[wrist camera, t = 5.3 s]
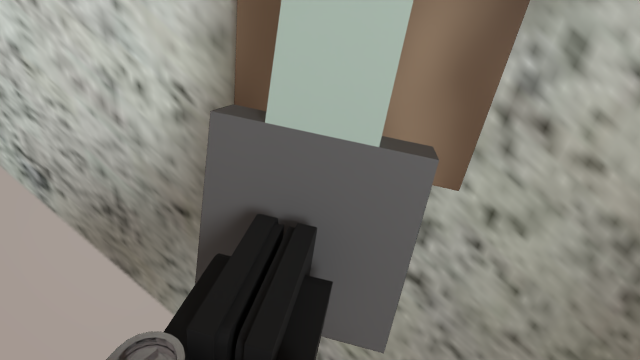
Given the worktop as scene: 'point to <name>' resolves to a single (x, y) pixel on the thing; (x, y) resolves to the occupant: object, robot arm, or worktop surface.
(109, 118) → the worktop surface
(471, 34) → the press base
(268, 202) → the press lever
